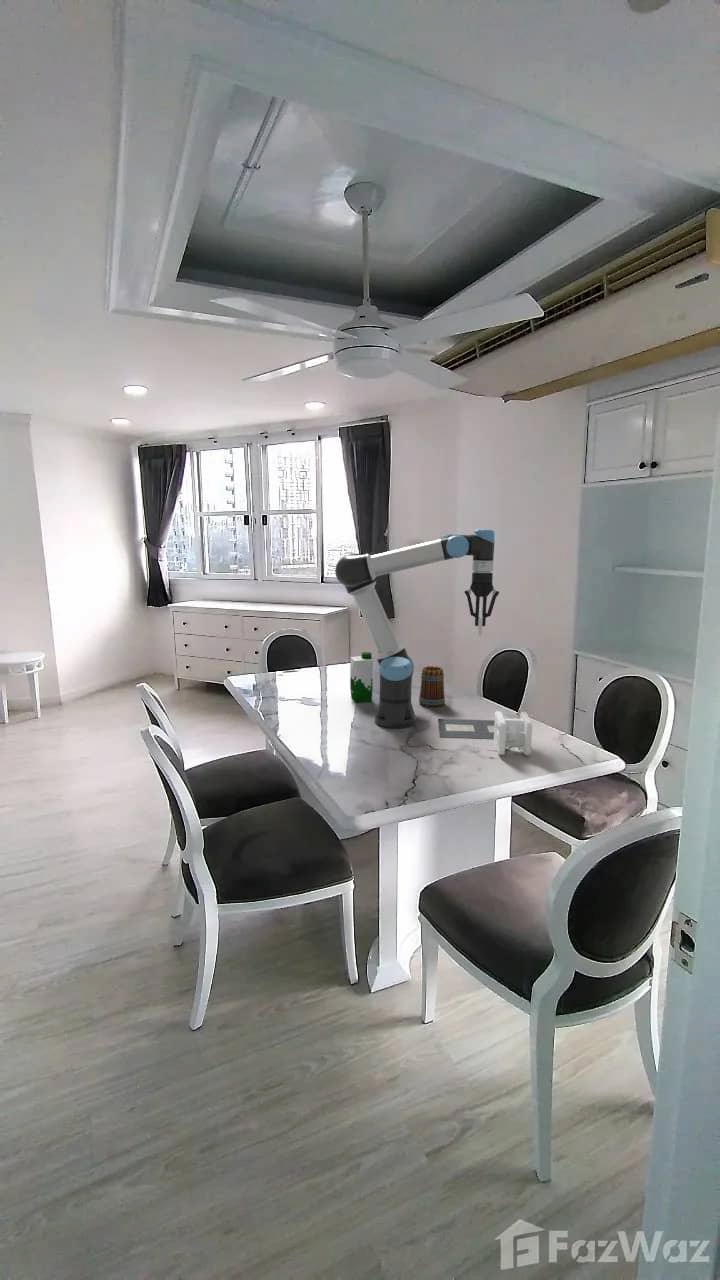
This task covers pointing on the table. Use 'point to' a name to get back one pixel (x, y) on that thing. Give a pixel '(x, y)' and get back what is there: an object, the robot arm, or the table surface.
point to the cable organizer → (512, 733)
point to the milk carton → (361, 678)
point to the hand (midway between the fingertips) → (479, 634)
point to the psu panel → (466, 728)
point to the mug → (432, 687)
